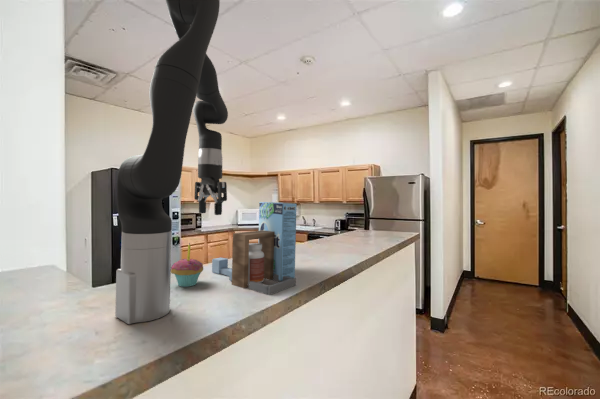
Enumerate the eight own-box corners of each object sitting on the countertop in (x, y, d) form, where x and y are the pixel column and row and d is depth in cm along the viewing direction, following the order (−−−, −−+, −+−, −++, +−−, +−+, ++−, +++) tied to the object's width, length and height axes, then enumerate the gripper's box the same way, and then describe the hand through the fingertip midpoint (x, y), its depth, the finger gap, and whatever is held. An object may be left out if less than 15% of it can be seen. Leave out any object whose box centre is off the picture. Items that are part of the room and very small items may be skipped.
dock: (269, 295, 74) (269, 287, 74) (248, 288, 78) (249, 281, 78) (295, 285, 83) (295, 278, 83) (275, 280, 87) (276, 273, 87)
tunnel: (273, 278, 89) (274, 231, 88) (243, 288, 79) (245, 235, 79) (261, 275, 92) (262, 230, 91) (231, 284, 82) (232, 233, 82)
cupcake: (206, 286, 80) (207, 242, 80) (173, 290, 75) (174, 244, 75) (198, 278, 87) (199, 238, 87) (167, 282, 82) (168, 240, 82)
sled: (253, 275, 91) (253, 262, 91) (233, 281, 84) (234, 266, 84) (226, 268, 99) (226, 256, 99) (206, 273, 92) (206, 260, 92)
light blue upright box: (294, 280, 86) (297, 203, 86) (279, 281, 84) (282, 203, 84) (269, 266, 103) (272, 202, 103) (256, 267, 101) (258, 201, 101)
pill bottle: (266, 279, 87) (267, 243, 87) (259, 285, 81) (260, 246, 81) (248, 278, 89) (248, 242, 89) (238, 283, 83) (239, 245, 83)
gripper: (187, 164, 95) (187, 213, 95) (213, 161, 86) (213, 216, 86) (207, 165, 101) (207, 212, 101) (233, 163, 92) (233, 214, 92)
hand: (210, 214), depth 94 cm, fingers open, 8 cm apart
